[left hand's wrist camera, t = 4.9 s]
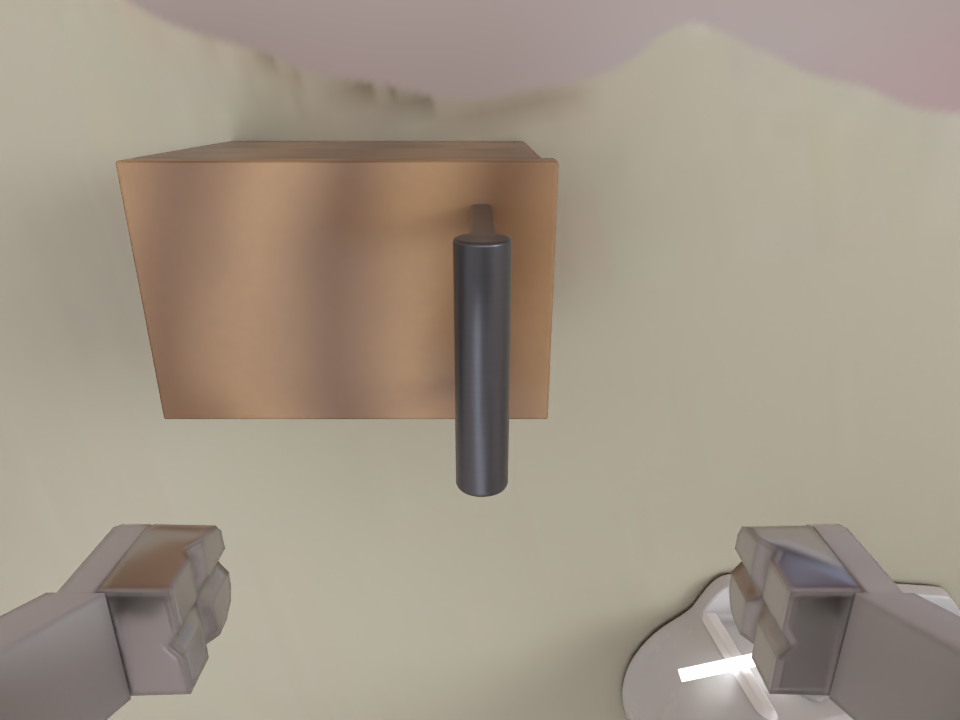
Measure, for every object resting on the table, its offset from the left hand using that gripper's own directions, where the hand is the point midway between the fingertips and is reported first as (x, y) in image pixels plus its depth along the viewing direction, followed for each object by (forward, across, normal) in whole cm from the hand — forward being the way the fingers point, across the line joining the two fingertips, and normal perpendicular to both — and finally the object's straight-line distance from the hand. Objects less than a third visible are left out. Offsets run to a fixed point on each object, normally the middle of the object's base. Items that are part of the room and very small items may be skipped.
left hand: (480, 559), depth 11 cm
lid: (+16, -5, 0) cm, 17 cm away
